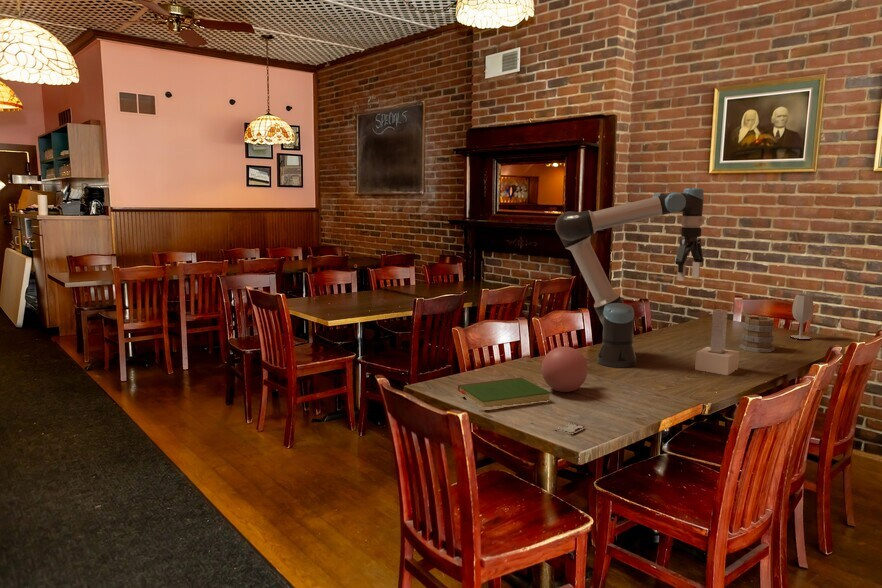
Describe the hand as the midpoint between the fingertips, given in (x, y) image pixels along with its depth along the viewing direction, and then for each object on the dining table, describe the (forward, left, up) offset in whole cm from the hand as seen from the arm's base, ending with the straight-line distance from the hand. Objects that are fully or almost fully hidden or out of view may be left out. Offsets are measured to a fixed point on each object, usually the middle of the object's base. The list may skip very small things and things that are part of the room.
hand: (688, 279), depth 253 cm
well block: (-10, -16, -33) cm, 38 cm away
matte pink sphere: (-72, +12, -33) cm, 80 cm away
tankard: (+39, -15, -33) cm, 54 cm away
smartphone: (-105, -4, -34) cm, 110 cm away
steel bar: (-10, -16, -30) cm, 35 cm away
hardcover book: (-95, +23, -34) cm, 103 cm away
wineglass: (+74, -26, -33) cm, 85 cm away
